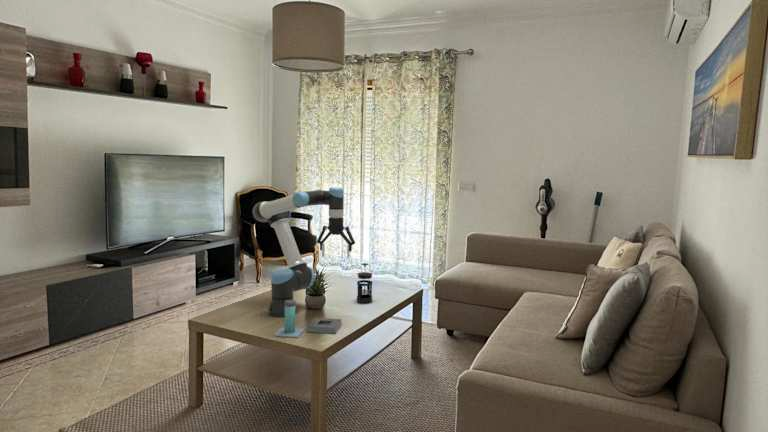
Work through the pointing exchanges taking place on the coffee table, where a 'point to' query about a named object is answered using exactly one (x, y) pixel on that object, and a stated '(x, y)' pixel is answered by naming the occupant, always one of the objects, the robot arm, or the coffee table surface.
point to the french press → (364, 295)
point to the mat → (282, 333)
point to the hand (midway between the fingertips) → (335, 257)
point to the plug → (289, 316)
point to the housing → (324, 325)
